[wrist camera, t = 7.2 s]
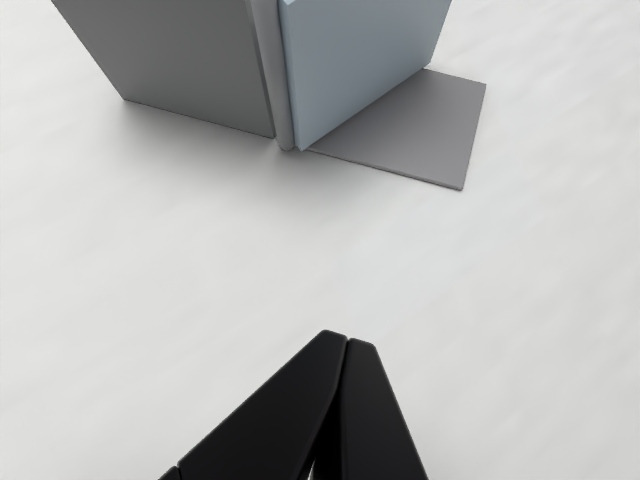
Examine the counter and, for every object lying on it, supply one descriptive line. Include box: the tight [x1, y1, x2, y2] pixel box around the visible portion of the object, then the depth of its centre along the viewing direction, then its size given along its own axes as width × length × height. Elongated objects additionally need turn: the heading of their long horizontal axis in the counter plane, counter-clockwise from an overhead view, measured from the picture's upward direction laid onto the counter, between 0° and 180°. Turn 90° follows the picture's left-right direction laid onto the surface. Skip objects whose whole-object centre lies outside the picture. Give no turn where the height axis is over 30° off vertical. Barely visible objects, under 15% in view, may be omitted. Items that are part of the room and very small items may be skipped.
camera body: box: [51, 0, 486, 190], centre depth 19 cm, size 6×17×10 cm, turn 74°
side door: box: [250, 0, 452, 151], centre depth 19 cm, size 1×9×9 cm, turn 127°
